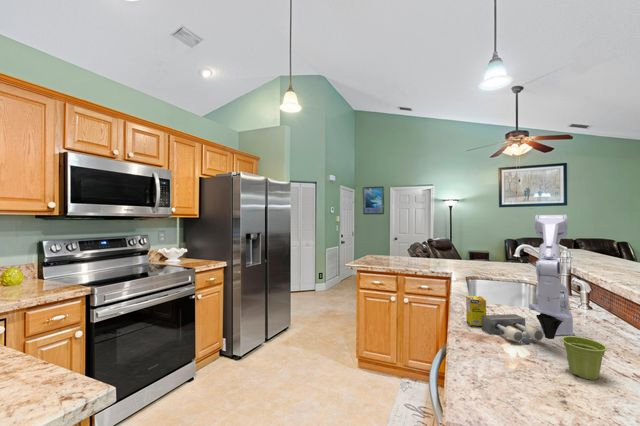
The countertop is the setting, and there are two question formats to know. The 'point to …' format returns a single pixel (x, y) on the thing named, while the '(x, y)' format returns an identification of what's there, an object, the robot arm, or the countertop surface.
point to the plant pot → (584, 356)
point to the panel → (501, 322)
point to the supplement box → (475, 310)
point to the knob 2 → (531, 331)
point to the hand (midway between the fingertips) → (549, 338)
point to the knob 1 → (511, 332)
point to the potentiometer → (525, 339)
